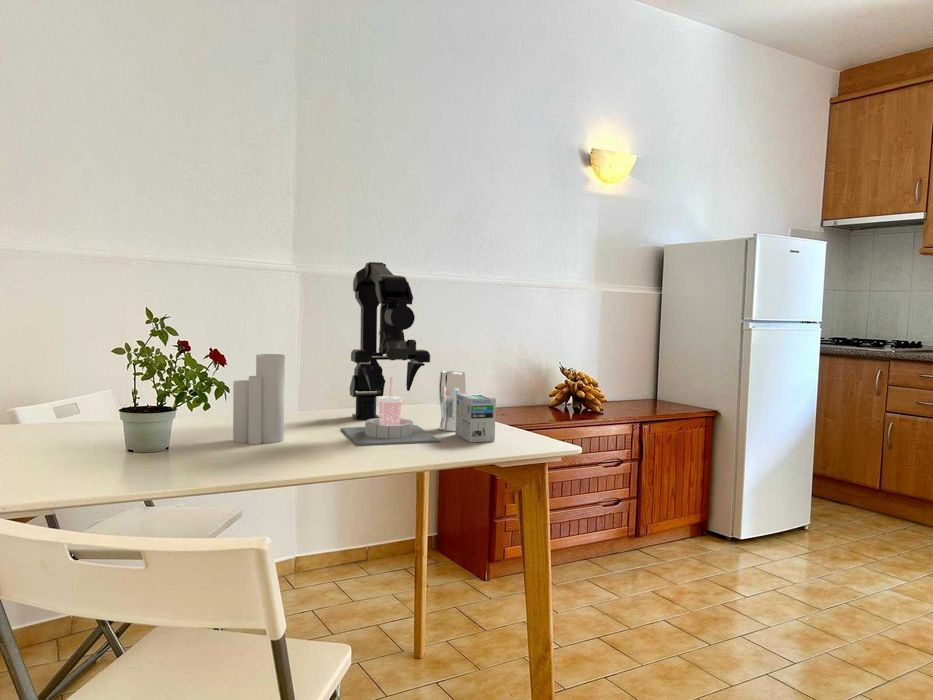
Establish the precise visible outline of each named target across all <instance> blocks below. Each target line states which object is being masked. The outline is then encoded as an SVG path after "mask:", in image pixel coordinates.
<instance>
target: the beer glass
mask: <svg viewBox="0 0 933 700" xmlns="http://www.w3.org/2000/svg"><path fill="white" fill-rule="evenodd" d="M456 393H466V372H464V371H455V370H451V371H450V370H447V371H446V370H445V371H440V372H439V382H438V398H439V406H440V413H441V414H440V421H439V423H440V424H439V426H438V427H439V430H441V431H443V432H456Z"/></svg>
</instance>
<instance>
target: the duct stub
mask: <svg viewBox="0 0 933 700" xmlns="http://www.w3.org/2000/svg"><path fill="white" fill-rule="evenodd" d="M340 430H341V431H342V432H343V434H345V435H346V436H347V437H348V438H349V439H350V440H351V442H353V443H354V444H355V445H356V446H357V447H358V446H362V447H363V446H380V445H381V446H382V445H383V446H385V445H387V446H388V445H405V444H406V445H407V444H425V443H426V444H427V443H428V444H429V443H430V444H431V443H440V442H441V439H439V438H438V437H436V436H435V435H433V434H431V433H429V432H428V431H426V430H424V429H423V428H421V427H420V426H418V425H416V424H414V422H413V421H412V420H411V419H407V418H403V417H402V418H401V417H400V423H399V425H380V420H379V418H374V419H366V420H365V422H364V426H356V427H355V426H353V427H352V426H351V427H349V426H348V427H340Z"/></svg>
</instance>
